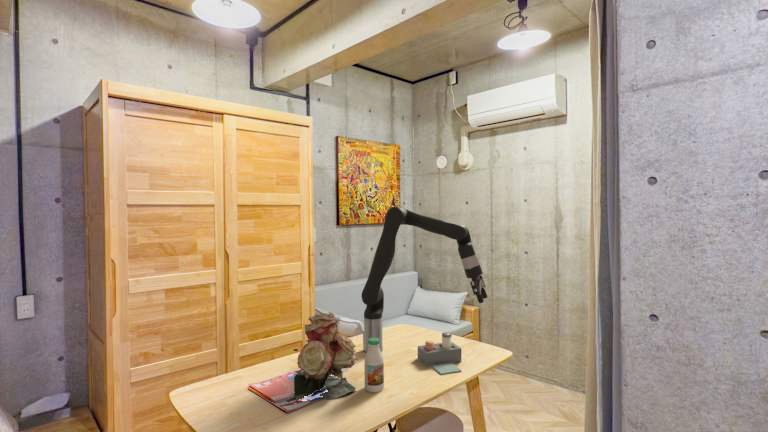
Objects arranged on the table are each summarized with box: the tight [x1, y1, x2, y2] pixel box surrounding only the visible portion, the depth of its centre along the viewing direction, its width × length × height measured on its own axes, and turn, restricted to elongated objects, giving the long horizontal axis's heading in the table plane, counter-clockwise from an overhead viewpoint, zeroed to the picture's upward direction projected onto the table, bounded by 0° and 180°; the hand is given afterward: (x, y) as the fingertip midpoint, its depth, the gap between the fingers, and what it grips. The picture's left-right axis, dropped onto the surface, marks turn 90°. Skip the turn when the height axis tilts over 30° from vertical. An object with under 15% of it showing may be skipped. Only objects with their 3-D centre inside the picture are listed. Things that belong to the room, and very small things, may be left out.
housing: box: [417, 341, 462, 367], centre depth 190 cm, size 18×10×6 cm, turn 109°
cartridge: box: [441, 331, 453, 349], centre depth 191 cm, size 5×5×12 cm
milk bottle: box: [364, 338, 385, 393], centre depth 160 cm, size 8×8×20 cm
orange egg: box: [424, 340, 435, 351], centre depth 188 cm, size 4×4×6 cm
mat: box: [431, 362, 462, 376], centre depth 179 cm, size 10×9×1 cm
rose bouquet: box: [292, 311, 358, 401], centre depth 162 cm, size 26×29×30 cm
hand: (483, 300), depth 181 cm, fingers open, 8 cm apart
